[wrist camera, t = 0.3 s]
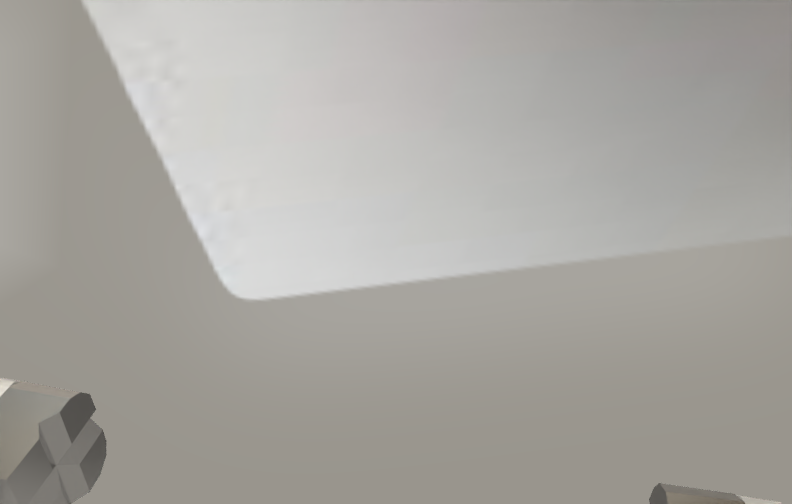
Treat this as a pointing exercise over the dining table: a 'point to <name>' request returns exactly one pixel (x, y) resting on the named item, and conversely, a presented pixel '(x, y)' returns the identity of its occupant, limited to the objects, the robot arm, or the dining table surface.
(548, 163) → the dining table surface
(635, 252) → the dining table surface
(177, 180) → the dining table surface
